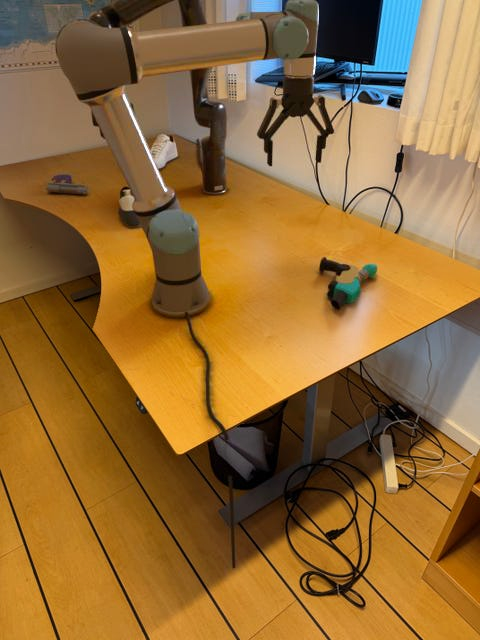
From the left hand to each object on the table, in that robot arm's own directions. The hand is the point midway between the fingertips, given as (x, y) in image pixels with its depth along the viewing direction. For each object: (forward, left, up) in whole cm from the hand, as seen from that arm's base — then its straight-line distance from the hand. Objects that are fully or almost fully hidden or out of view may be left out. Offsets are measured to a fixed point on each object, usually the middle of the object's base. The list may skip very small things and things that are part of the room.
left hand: (294, 163), depth 129 cm
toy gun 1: (+52, +88, -28) cm, 106 cm away
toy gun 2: (-18, -13, -28) cm, 36 cm away
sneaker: (+85, +59, -28) cm, 107 cm away
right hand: (+36, +60, -3) cm, 70 cm away
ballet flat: (+28, +57, -28) cm, 70 cm away
